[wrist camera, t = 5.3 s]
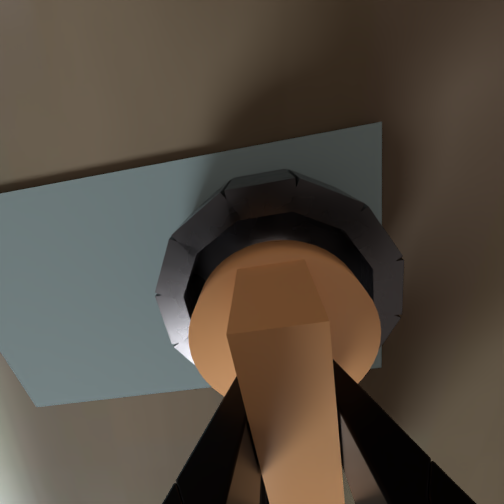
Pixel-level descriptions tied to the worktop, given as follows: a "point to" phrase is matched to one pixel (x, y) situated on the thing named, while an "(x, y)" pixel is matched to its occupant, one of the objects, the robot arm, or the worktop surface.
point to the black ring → (277, 228)
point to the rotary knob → (287, 357)
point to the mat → (132, 262)
